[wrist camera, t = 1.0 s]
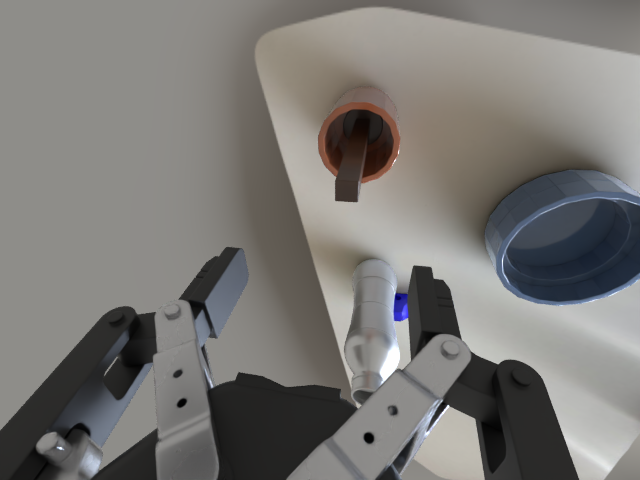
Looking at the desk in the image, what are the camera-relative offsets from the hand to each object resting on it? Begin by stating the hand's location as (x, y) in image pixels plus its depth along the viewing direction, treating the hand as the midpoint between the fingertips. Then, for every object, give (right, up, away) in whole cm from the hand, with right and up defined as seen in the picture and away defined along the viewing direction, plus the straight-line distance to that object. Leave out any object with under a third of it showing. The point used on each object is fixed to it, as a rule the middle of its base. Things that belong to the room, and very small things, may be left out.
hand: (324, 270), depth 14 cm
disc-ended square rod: (+5, +15, +20) cm, 25 cm away
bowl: (+29, +3, +24) cm, 37 cm away
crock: (+5, +15, +21) cm, 26 cm away
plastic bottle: (+8, -3, +33) cm, 34 cm away
